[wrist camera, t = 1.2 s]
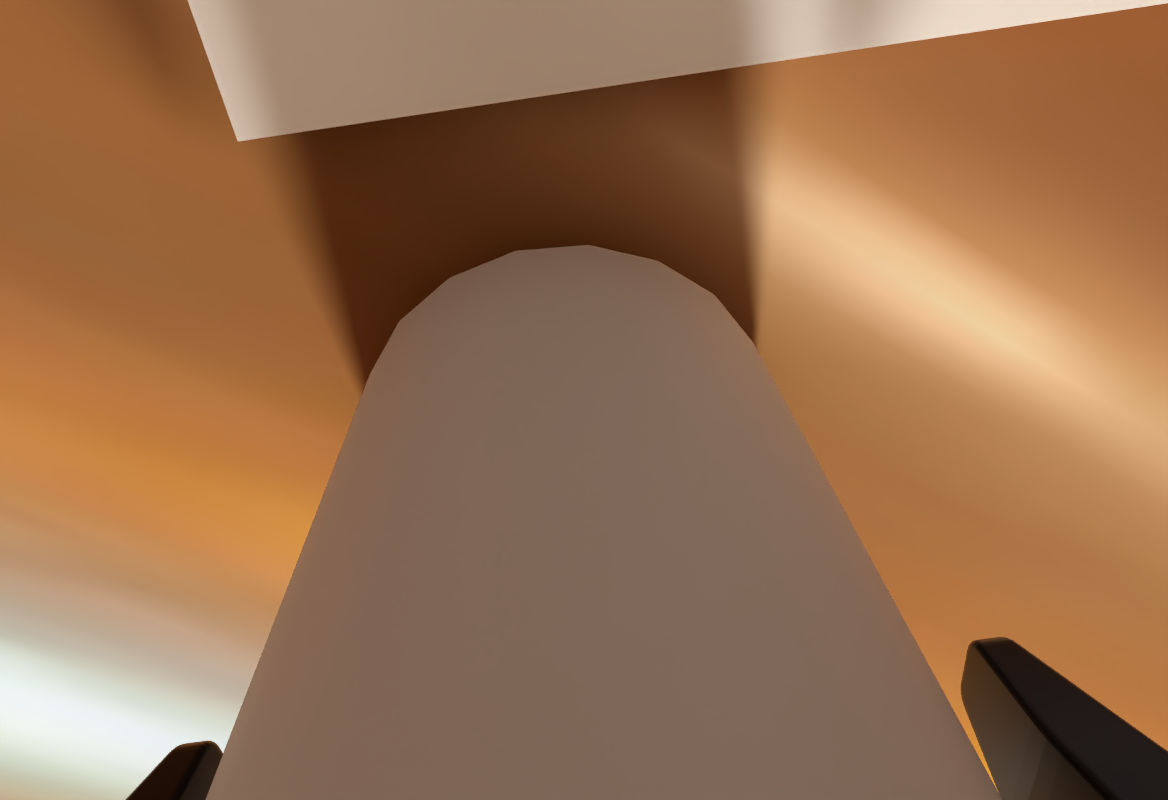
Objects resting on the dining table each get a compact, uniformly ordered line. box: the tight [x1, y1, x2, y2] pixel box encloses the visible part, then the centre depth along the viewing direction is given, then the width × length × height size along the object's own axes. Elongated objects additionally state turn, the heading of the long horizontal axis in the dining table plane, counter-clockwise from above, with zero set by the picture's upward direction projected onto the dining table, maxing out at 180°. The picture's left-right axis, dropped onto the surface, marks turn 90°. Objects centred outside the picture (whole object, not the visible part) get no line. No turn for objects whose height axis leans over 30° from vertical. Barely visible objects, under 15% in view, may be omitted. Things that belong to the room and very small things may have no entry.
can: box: [206, 245, 1002, 800], centre depth 10 cm, size 8×8×12 cm
